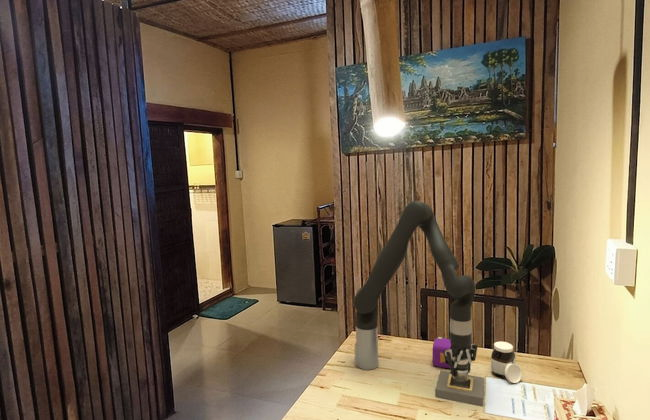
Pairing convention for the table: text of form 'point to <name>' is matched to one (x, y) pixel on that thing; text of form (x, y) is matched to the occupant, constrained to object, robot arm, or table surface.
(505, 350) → the spread jar
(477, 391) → the mount plate
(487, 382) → the table surface
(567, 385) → the table surface
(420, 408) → the table surface
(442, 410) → the table surface
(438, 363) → the toy camera
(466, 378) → the lens
